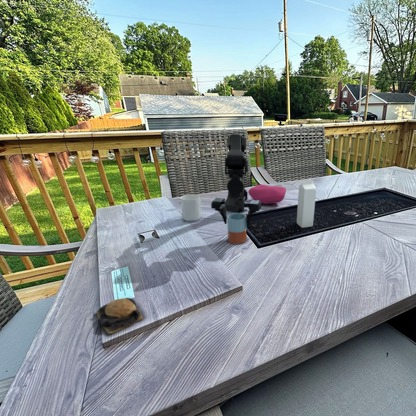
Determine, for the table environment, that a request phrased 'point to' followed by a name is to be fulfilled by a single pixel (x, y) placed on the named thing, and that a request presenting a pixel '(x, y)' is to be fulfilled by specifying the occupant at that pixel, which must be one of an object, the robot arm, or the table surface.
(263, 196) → the pink bowl shaped lump
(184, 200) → the mug
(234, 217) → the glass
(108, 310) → the brown and black burger
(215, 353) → the table surface
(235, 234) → the cup
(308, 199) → the milk
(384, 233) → the table surface
